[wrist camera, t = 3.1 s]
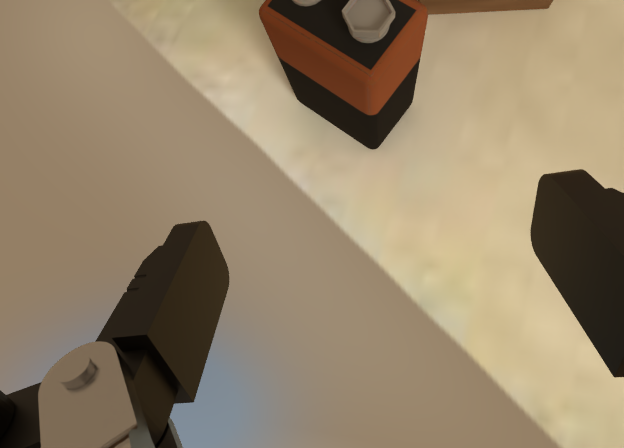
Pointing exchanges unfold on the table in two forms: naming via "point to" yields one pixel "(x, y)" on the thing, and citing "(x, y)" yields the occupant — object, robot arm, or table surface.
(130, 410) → the robot arm
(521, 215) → the table surface
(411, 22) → the battery
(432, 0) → the base brick
